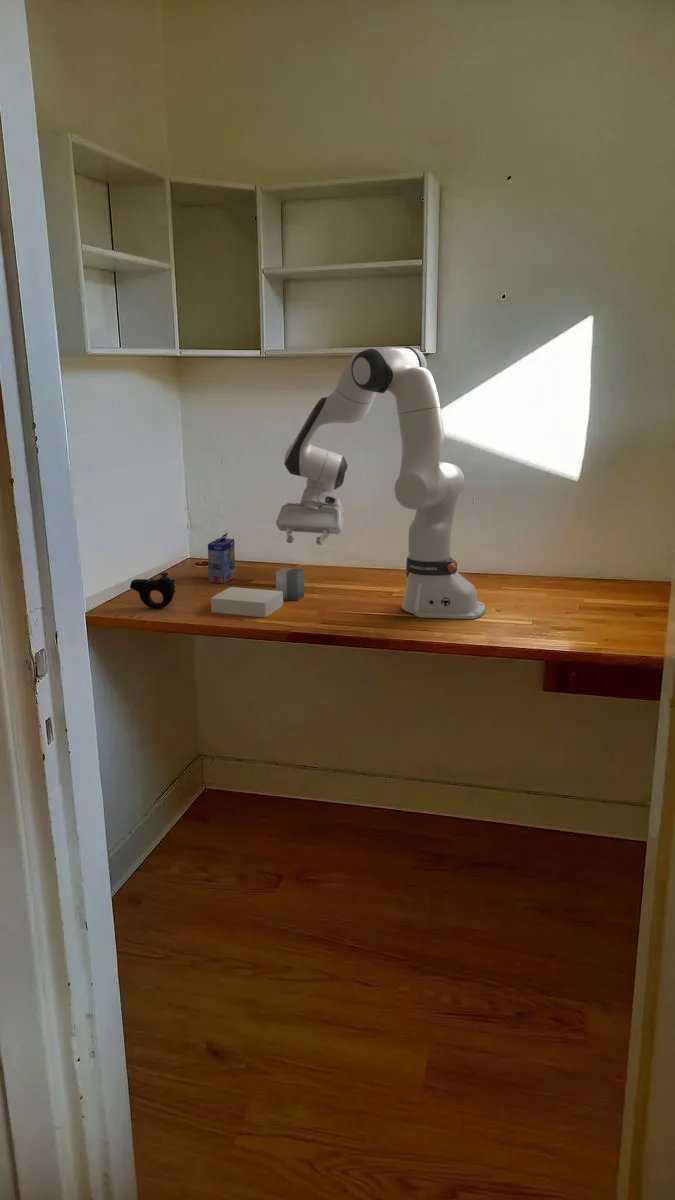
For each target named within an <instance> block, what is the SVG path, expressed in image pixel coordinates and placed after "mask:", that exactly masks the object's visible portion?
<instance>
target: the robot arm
mask: <svg viewBox="0 0 675 1200" xmlns="http://www.w3.org/2000/svg"><path fill="white" fill-rule="evenodd" d="M427 368H428V364H427V359H426V357H425V355H424V353H422V352H421V350H420V349H417V348H414V347H411V346H404V347H400V346H399V347H398V346H394V347H393V346H383V347H376V348H367V349H364V350H362V351H361V352H359V353H356V354H354V355H352V357H350V359H349V360H348V362H347V363H346V364H345V367H344V369H343V371H342V373H341V374H340V377H339V380H338V382H337V385H336V387H335V390H333V392H332V393H330V394H329V395H328V396H326V397H325V396H324V397H321V398H320V399H319V400H318V401H317V403H316V404H315V406H314V407H313V409H312V410H311V412H310V414H309V415H308V416H307V419H306V421H305V422H304V424H303V426H302V428H301V430H300V431H299V433H298V434H297V436H296V438H295V439H294V440H293V442H292V444H291V445H290V446H289V447H288V449H287V451H286V453H285V456H284V466H285V467H286V469H287V472H288V473H289V474H290V475H293V476H298V477H303V478H306V486H305V489H304V490H303V492H302V495H301V500H300V502H299V503H298V502H295V503H292V502H287V503H286V504H283V505H282V506H281V507H280V512H279V514H278V515H277V518H276V521H275V523H276V526H277V528H278V530H279V531H281V532H285V533H286V540H285V541H286V543H288V544H293V542H294V540H295V539H294V537H293V535H292V534H293V532H296V533H309V534H312V533H313V534H321V535H320V536H317V537H316V540H315V543H316V545H319V546H323V544H324V541H325V540H326V539H327V538H329V535H339V534H341V533H342V532H343V528H344V521H345V519H344V516H343V515H344V513H345V512H344V508H343V505H342V502H341V500H340V499H339V498H337V497H333V496H332V495H333V492H334V491H335V490H337V489H339V488H340V487H342V485H343V484H344V480H345V475H346V471H347V469H348V463H347V460H346V459H345V457H344V456H343V455H342V454H339V453H337V452H334V451H331V450H327V449H325V448H321V447H319V446H315V445H313V444H311V442H312V440H313V439H314V437H315V435H316V433H317V431H318V430H319V429H320V427H323V426H324V425H328V424H351V423H357V422H359V421H361V420H362V419H364V418H366V417H367V415H368V414H369V412H370V410H371V408H372V406H373V403H374V401H375V399H376V396H377V394H384V393H386V391H387V392H390V394H392V395H393V397H394V399H395V402H396V410H397V416H398V418H397V419H398V424H399V432H400V437H401V438H400V439H401V451H402V452H401V460H400V461H401V462H400V470H399V471H400V472H399V474H398V477H397V479H396V481H395V484H394V494H395V495H394V496H395V498H396V500H397V502H398V503H399V504H400V506H402V507H404V508H405V509H408V510H409V509H410V510H416V512H415V513H414V514H415V515H414V517H413V520H412V521H411V523H410V525H409V529H408V556H407V557H406V562H405V563H406V565H405V573H406V578H407V579H406V585H405V586H406V587H405V593H404V599H403V602H402V604H401V608H402V610H403V611H405V612H408V613H411V614H412V615H414V616H415V617H417V618H429V619H430V618H431V619H432V618H433V619H434V618H435V619H458V620H459V619H464V620H467V619H468V620H474V619H477V618H480V617H481V616H483V615H484V613H485V612H486V605H485V604H484V603H483V602H482V601H478V594H477V589H476V588H475V585H474V584H472V582H470V581H469V580H467V579H466V578H465V577H464V576H463V575H461V574H460V573H459V572H458V559H453V558H452V557H451V555H450V554H451V533H452V532H451V531H452V526H453V520H454V516H455V511H456V509H457V508H456V507H457V503H458V499H459V497H460V495H461V493H462V491H463V490H464V487H465V482H466V481H465V475H464V472H463V471H462V469H461V468H460V467H459V466H457V464H456V465H455V464H453V463H450V462H444V461H440V459H441V450H442V445H443V443H444V441H445V430H444V429H445V428H444V424H443V417H442V410H441V404H440V403H441V402H440V397H439V394H438V390H437V386H436V382H435V380H434V376H433V375H432V373H431V371H430V370H428V369H427Z"/></svg>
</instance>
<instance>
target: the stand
mask: <svg viewBox="0 0 675 1200" xmlns="http://www.w3.org/2000/svg"><path fill="white" fill-rule="evenodd" d="M210 604H211V605H210V609H211V613H215V614H225V615H236V616H237V615H238V616H248V617H255V618H256V617H258V618H267V617H269V616H270V615H271V614H273V613H274V612H276V611H278V610H279V609H280V608H281V607H283V606H284V600H283V591H276V590H272V589H271V590H269V589H259V588H247V587H246V588H244V587H236V586H235V587H234V586H230V587H228V588H226V589H224V590H223V591H221V592H219V593H217V594H215V595H214V596H212V597H211V598H210ZM282 605H283V606H282Z"/></svg>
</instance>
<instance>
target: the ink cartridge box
mask: <svg viewBox="0 0 675 1200" xmlns="http://www.w3.org/2000/svg"><path fill="white" fill-rule="evenodd" d="M227 536H228V532H226V533H224V534H223V535H222V536H221V537H219V538H217V539H215V540H213V541H211V542H208V544H207V562H208V582H209V583H217V584H225V583H227V582H229V581H230V580H232V579H233V578H235V577H236V575H235V574H236V573H235V571H236V570H235V569H236V567H235V566H236V565H235V559H236V557H235V555H236V554H235V538H227ZM234 576H235V577H234ZM232 577H233V578H232Z"/></svg>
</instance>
